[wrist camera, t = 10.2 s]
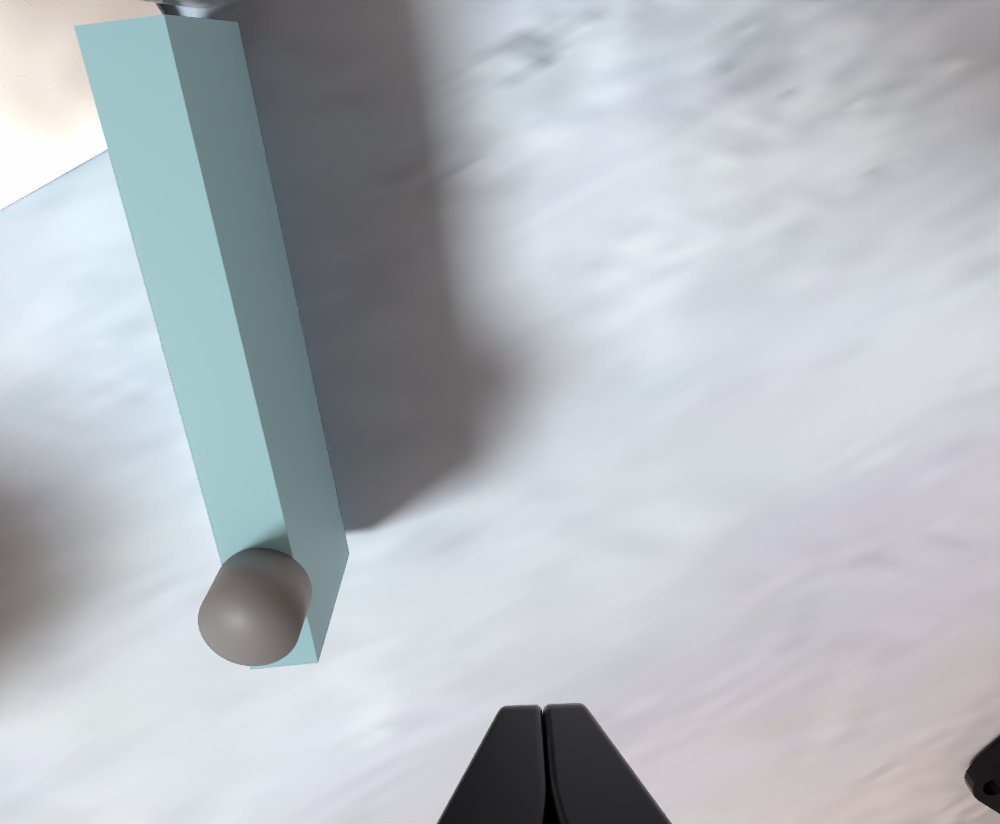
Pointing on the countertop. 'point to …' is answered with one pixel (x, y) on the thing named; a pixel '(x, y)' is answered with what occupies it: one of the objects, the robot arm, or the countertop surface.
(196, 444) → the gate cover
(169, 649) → the countertop surface
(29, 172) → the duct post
